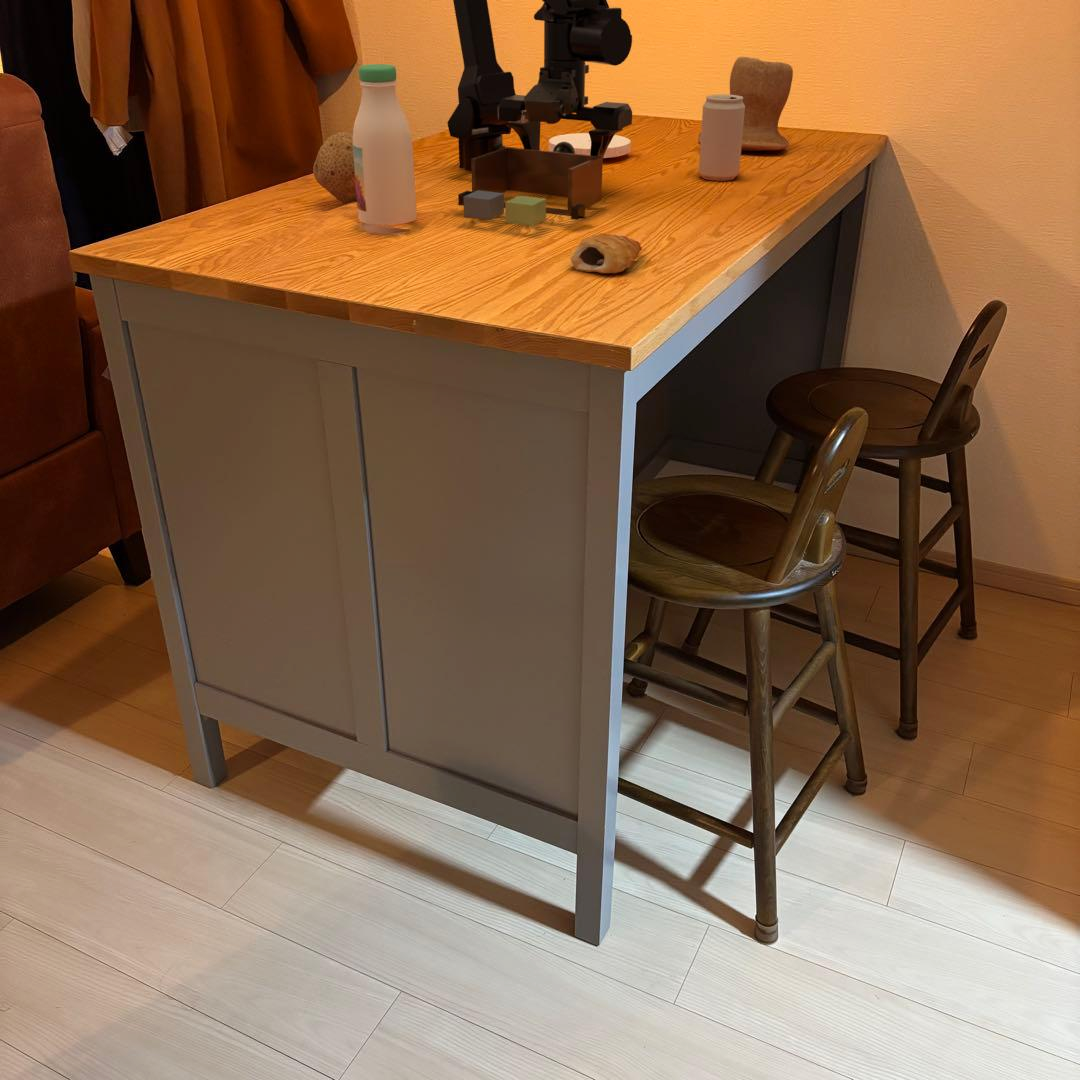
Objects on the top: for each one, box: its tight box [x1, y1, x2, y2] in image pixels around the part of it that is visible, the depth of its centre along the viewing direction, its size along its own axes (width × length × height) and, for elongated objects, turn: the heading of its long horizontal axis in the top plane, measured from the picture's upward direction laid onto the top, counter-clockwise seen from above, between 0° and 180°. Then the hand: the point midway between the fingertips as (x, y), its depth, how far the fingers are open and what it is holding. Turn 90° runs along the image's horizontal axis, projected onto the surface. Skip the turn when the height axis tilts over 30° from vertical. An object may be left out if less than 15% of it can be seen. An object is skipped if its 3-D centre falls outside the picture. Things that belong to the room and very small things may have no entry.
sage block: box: [504, 195, 547, 227], centre depth 141 cm, size 4×4×4 cm
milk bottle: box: [352, 63, 418, 235], centre depth 138 cm, size 8×8×20 cm
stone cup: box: [697, 56, 794, 152], centre depth 186 cm, size 15×12×15 cm
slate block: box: [463, 190, 505, 221], centre depth 144 cm, size 4×4×4 cm
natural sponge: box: [312, 131, 357, 205], centre depth 151 cm, size 9×9×10 cm
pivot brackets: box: [457, 190, 587, 221], centre depth 146 cm, size 19×2×3 cm, turn 64°
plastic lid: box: [548, 132, 632, 159], centre depth 183 cm, size 14×14×2 cm
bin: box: [471, 142, 604, 217], centre depth 151 cm, size 15×15×8 cm
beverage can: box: [698, 93, 745, 182], centre depth 167 cm, size 6×6×12 cm
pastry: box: [570, 233, 642, 274], centre depth 128 cm, size 9×7×4 cm
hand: (563, 175), depth 156 cm, fingers open, 9 cm apart
